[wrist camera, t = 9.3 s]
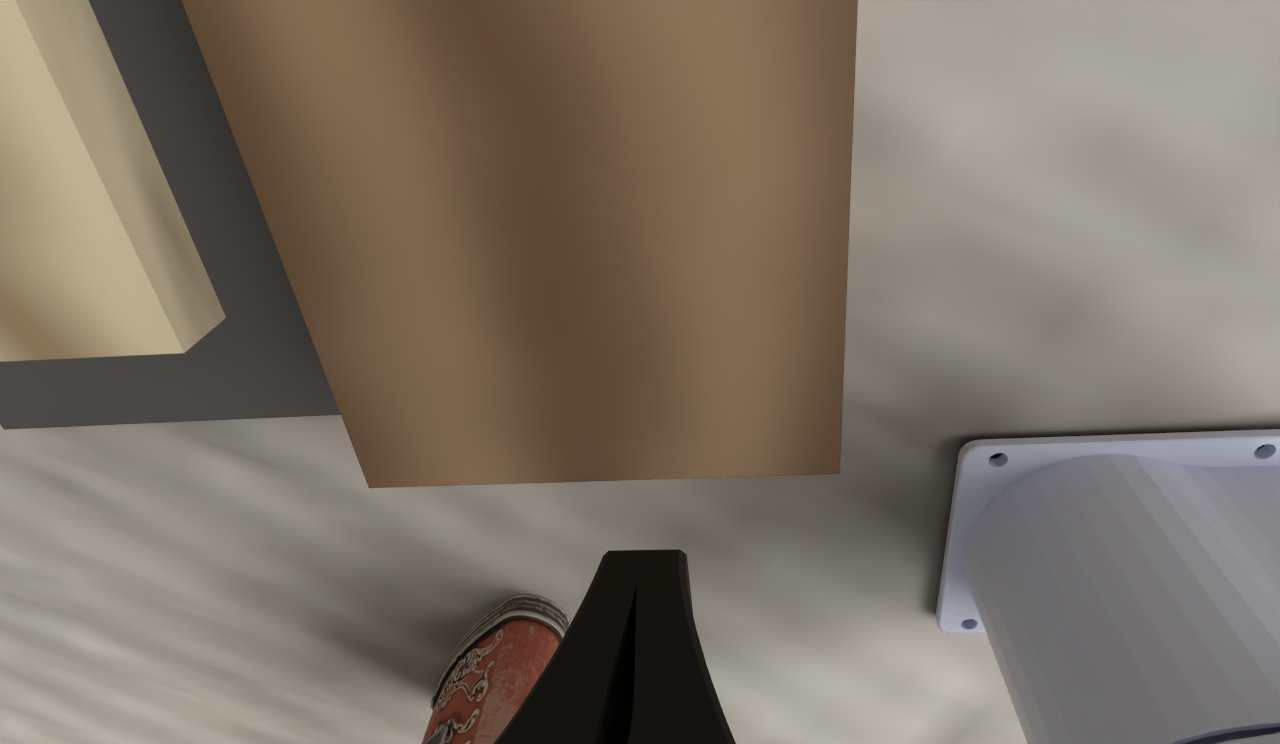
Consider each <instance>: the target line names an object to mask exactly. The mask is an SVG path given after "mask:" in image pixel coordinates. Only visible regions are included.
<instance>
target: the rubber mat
mask: <svg viewBox="0 0 1280 744" xmlns="http://www.w3.org/2000/svg"><path fill="white" fill-rule="evenodd" d="M89 2H90V5H91V7H92V9H93V12H94V14H95V16H96V19H97V21H98V23H99V25H100V28H101V30H102V32H103V35H104V37H105V39H106V42H107V44H108V46H109V48H110V51H111V53H112V55H113V58H114V60H115V62H116V65H117V67H118V69H119V72H120V74H121V76H122V78H123V81H124V83H125V85H126V88H127V90H128V92H129V95H130V97H131V99H132V102H133V104H134V106H135V108H136V111H137V113H138V115H139V118H140V120H141V122H142V125H143V127H144V129H145V132H146V134H147V136H148V138H149V141H150V143H151V145H152V148H153V150H154V152H155V155H156V157H157V159H158V162H159V164H160V166H161V168H162V171H163V173H164V175H165V178H166V180H167V182H168V185H169V187H170V189H171V191H172V194H173V196H174V198H175V201H176V203H177V205H178V208H179V210H180V212H181V215H182V217H183V219H184V221H185V224H186V226H187V228H188V231H189V233H190V235H191V238H192V240H193V242H194V245H195V247H196V249H197V251H198V254H199V256H200V258H201V261H202V263H203V265H204V268H205V270H206V272H207V275H208V277H209V279H210V281H211V284H212V286H213V288H214V291H215V293H216V295H217V298H218V300H219V302H220V305H221V307H222V309H223V311H224V314H225V316H226V318H225V319H224V320H223V321H222V322H220V323H219V324H218V325H217V326H216V327H215V328H213V329H212V330H211V331H210V332H209V333H207V334H206V335H205V336H204V337H203V338H202V339H200V340H199V341H198V342H197V343H196V344H194V345H193V346H192V347H191V348H190V349H188V350H187V351H186V352H185V353H176V354H155V355H133V356H112V357H90V358H68V359H47V360H25V361H3V362H0V424H1V426H2V427H3V429H23V428H46V427H69V426H92V425H115V424H138V423H161V422H184V421H207V420H230V419H253V418H276V417H299V416H322V415H341V414H340V411H339V408H338V406H337V403H336V401H335V398H334V395H333V393H332V390H331V388H330V385H329V382H328V380H327V377H326V375H325V372H324V369H323V367H322V364H321V362H320V359H319V356H318V354H317V351H316V349H315V346H314V343H313V341H312V338H311V336H310V333H309V330H308V328H307V325H306V323H305V320H304V317H303V315H302V312H301V310H300V307H299V304H298V302H297V299H296V297H295V294H294V291H293V289H292V286H291V284H290V281H289V278H288V276H287V273H286V271H285V268H284V265H283V263H282V260H281V258H280V255H279V252H278V250H277V247H276V245H275V242H274V239H273V237H272V234H271V232H270V229H269V226H268V224H267V221H266V219H265V216H264V213H263V211H262V208H261V206H260V203H259V200H258V198H257V195H256V192H255V190H254V187H253V185H252V182H251V179H250V177H249V174H248V172H247V169H246V166H245V164H244V161H243V159H242V156H241V153H240V151H239V148H238V146H237V143H236V140H235V138H234V135H233V133H232V130H231V127H230V125H229V122H228V120H227V117H226V114H225V112H224V109H223V107H222V104H221V101H220V99H219V96H218V94H217V91H216V88H215V86H214V83H213V81H212V78H211V75H210V73H209V70H208V68H207V65H206V62H205V60H204V57H203V55H202V52H201V49H200V47H199V44H198V42H197V39H196V36H195V34H194V31H193V29H192V26H191V23H190V21H189V18H188V16H187V13H186V10H185V8H184V5H183V3H182V0H89Z"/></svg>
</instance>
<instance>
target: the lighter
mask: <svg viewBox="0 0 1280 744" xmlns="http://www.w3.org/2000/svg"><path fill="white" fill-rule="evenodd" d="M568 627H569V620H568V617H567V614H566V613H565V612H564V611H563V610H562V609H561V608H560V607H559V606H558V605H556V604H555V603H553V602H552V601H550V600H547V599H545V598H542V597H539V596H533V595H517V596H514V597H511V598H509V599H507V600H506V601H504V602H503V603H502V604H500V605H499V606H498V607H496V608H495V609H493V610H492V611H491V612H489V613H488V614H487V615H485V616H484V617H483V618H482V619H481V620H480V621H479V622H478V623H477V624H476V625H475V626H474V627H473V628H472V629H471V630H470V631H469V632H468V633H467V634H466V635H465V636H464V637H463V638H462V639H461V640H460V642H459V643H458V645H457V646H456V648H455V649H454V651H453V652H452V654H451V655H450V657H449V658H448V660H447V662H446V664H445V666H444V669H443V671H442V674H441V676H440V678H439V681H438V683H437V686H436V689H435V692H434V695H433V697H432V700H431V708H432V710H433V713H432V716H431V718H430V721H429V724H428V727H427V730H426V733H425V736H424V739H423V741H422V744H494V742H495V741H496V740H497V738H498V737H499V736H500V734H501V733H502V732H503V730H504V729H505V728H506V726H507V725H508V723H509V722H510V721H511V719H512V718H513V716H514V715H515V713H516V712H517V711H518V709H519V708H520V706H521V705H522V703H523V702H524V700H525V699H526V697H527V696H528V694H529V693H530V691H531V689H532V688H533V686H534V685H535V683H536V682H537V680H538V678H539V677H540V675H541V674H542V672H543V671H544V669H545V667H546V666H547V664H548V663H549V661H550V659H551V658H552V656H553V654H554V653H555V651H556V649H557V647H558V646H559V644H560V642H561V640H562V639H563V637H564V635H565V633H566V631H567V630H568Z"/></svg>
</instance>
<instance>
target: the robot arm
mask: <svg viewBox="0 0 1280 744" xmlns="http://www.w3.org/2000/svg"><path fill="white" fill-rule="evenodd" d="M1262 445H1265V446H1264V447H1262V448H1261V449H1259V450H1256V449H1257V448H1259V447H1260V446H1262ZM997 453H1002V455H1001V456H1000V457H998V458H995V459H990V457H991V456H992V455H994V454H997ZM966 619H968V620H966ZM936 620H937V624H938V627H939V628H940V629H941V630H942V631H944V632H947V633H987V636H988V639H989V641H990V644H991V647H992V649H993V652H994V655H995V657H996V660H997V663H998V665H999V668H1000V671H1001V673H1002V676H1003V679H1004V681H1005V684H1006V687H1007V689H1008V692H1009V695H1010V697H1011V700H1012V703H1013V705H1014V708H1015V711H1016V713H1017V716H1018V719H1019V721H1020V724H1021V727H1022V729H1023V732H1024V735H1025V738H1026V740H1027V743H1028V744H1280V429H1268V430H1240V431H1211V432H1182V433H1154V434H1125V435H1097V436H1068V437H1039V438H1011V439H982V440H974V441H970V442H968V443H966V444H965V445H964V446H963V447H962V448H961V449H960V452H959V455H958V462H957V469H956V476H955V483H954V490H953V497H952V504H951V511H950V519H949V526H948V533H947V540H946V547H945V554H944V561H943V568H942V575H941V582H940V589H939V596H938V604H937V611H936ZM494 744H736V743H735V741H734V738H733V736H732V733H731V731H730V728H729V726H728V724H727V721H726V718H725V716H724V713H723V711H722V708H721V705H720V703H719V700H718V697H717V694H716V691H715V689H714V686H713V683H712V680H711V677H710V674H709V671H708V668H707V665H706V662H705V658H704V655H703V651H702V648H701V644H700V641H699V638H698V634H697V631H696V626H695V622H694V618H693V611H692V601H691V592H690V582H689V573H688V563H687V555H686V554H685V553H684V552H682V551H681V550H627V551H608V552H607V553H606V554H605V555H604V556H603V558H602V560H601V563H600V565H599V567H598V570H597V572H596V574H595V576H594V579H593V581H592V583H591V585H590V587H589V589H588V591H587V594H586V596H585V598H584V600H583V602H582V603H581V605H580V607H579V609H578V611H577V613H576V615H575V617H574V619H573V621H572V622H571V624H570V626H569V628H568V630H567V631H566V633H565V635H564V637H563V639H562V640H561V642H560V644H559V646H558V647H557V649H556V651H555V653H554V654H553V656H552V658H551V659H550V661H549V663H548V664H547V666H546V667H545V669H544V671H543V672H542V674H541V675H540V677H539V678H538V680H537V682H536V683H535V685H534V686H533V688H532V689H531V691H530V693H529V694H528V696H527V697H526V699H525V700H524V702H523V703H522V705H521V706H520V708H519V709H518V711H517V712H516V713H515V715H514V716H513V718H512V719H511V721H510V722H509V723H508V725H507V726H506V728H505V729H504V730H503V732H502V733H501V734H500V736H499V737H498V738H497V740H496V741H495V742H494Z"/></svg>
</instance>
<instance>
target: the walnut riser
mask: <svg viewBox="0 0 1280 744" xmlns="http://www.w3.org/2000/svg"><path fill="white" fill-rule="evenodd" d="M182 3H183V5H184V8H185V10H186V13H187V16H188V18H189V21H190V23H191V26H192V29H193V31H194V34H195V36H196V39H197V42H198V44H199V47H200V49H201V52H202V55H203V57H204V60H205V62H206V65H207V68H208V70H209V73H210V75H211V78H212V81H213V83H214V86H215V88H216V91H217V94H218V96H219V99H220V101H221V104H222V107H223V109H224V112H225V114H226V117H227V120H228V122H229V125H230V127H231V130H232V133H233V135H234V138H235V140H236V143H237V146H238V148H239V151H240V153H241V156H242V159H243V161H244V164H245V166H246V169H247V172H248V174H249V177H250V179H251V182H252V185H253V187H254V190H255V192H256V195H257V198H258V200H259V203H260V206H261V208H262V211H263V213H264V216H265V219H266V221H267V224H268V226H269V229H270V232H271V234H272V237H273V239H274V242H275V245H276V247H277V250H278V252H279V255H280V258H281V260H282V263H283V265H284V268H285V271H286V273H287V276H288V278H289V281H290V284H291V286H292V289H293V291H294V294H295V297H296V299H297V302H298V304H299V307H300V310H301V312H302V315H303V317H304V320H305V323H306V325H307V328H308V330H309V333H310V336H311V338H312V341H313V343H314V346H315V349H316V351H317V354H318V356H319V359H320V362H321V364H322V367H323V369H324V372H325V375H326V377H327V380H328V382H329V385H330V388H331V390H332V393H333V395H334V398H335V401H336V403H337V406H338V408H339V411H340V414H341V416H342V419H343V421H344V424H345V427H346V429H347V432H348V434H349V437H350V440H351V442H352V445H353V447H354V450H355V453H356V455H357V458H358V460H359V463H360V466H361V468H362V471H363V473H364V476H365V479H366V481H367V484H368V486H369V488H385V487H418V486H452V485H485V484H518V483H551V482H584V481H618V480H651V479H684V478H717V477H751V476H784V475H817V474H840V451H841V425H842V399H843V372H844V346H845V320H846V294H847V268H848V241H849V215H850V189H851V163H852V136H853V110H854V84H855V58H856V32H857V5H858V0H182Z"/></svg>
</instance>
